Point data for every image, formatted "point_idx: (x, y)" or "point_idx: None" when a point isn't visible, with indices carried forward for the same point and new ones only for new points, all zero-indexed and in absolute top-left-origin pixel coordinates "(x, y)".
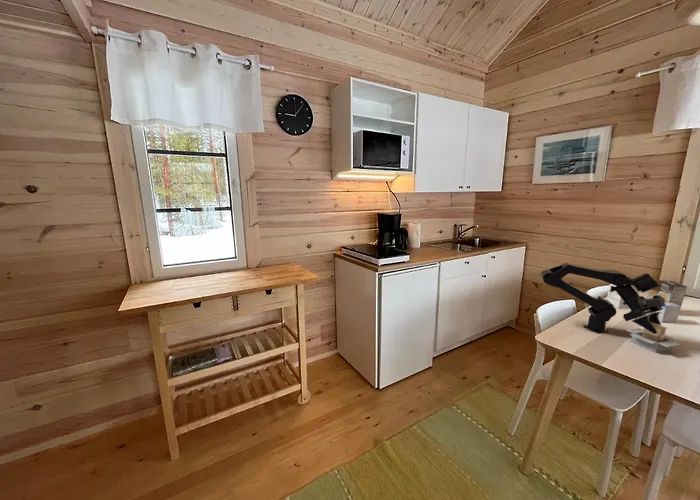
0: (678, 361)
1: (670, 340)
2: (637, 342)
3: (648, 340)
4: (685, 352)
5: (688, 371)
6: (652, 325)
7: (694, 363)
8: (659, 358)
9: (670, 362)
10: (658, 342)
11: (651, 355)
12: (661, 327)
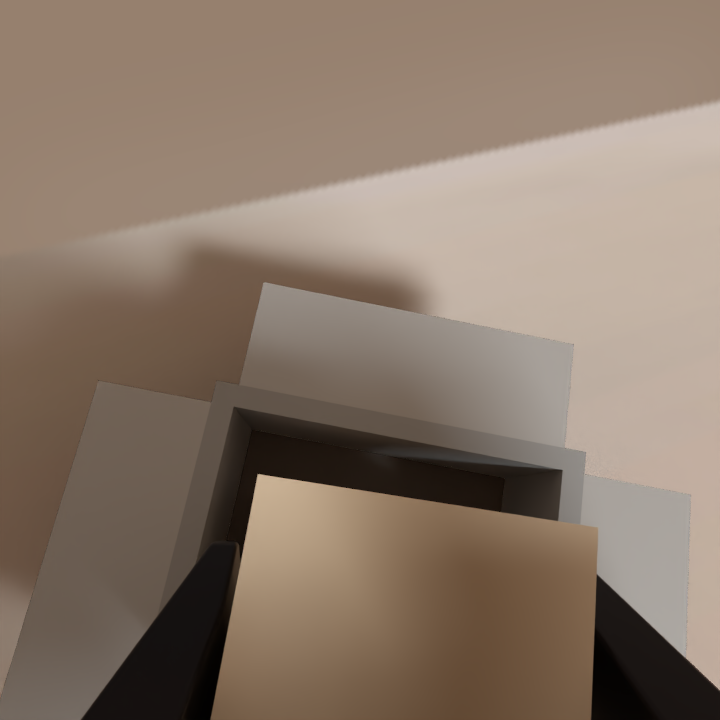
0: (515, 259)
1: (236, 405)
2: None
3: (625, 572)
4: (140, 299)
5: (661, 151)
6: (669, 705)
7: (395, 171)
8: (652, 377)
9: (632, 289)
10: (539, 461)
11: (665, 450)
12: (431, 533)
